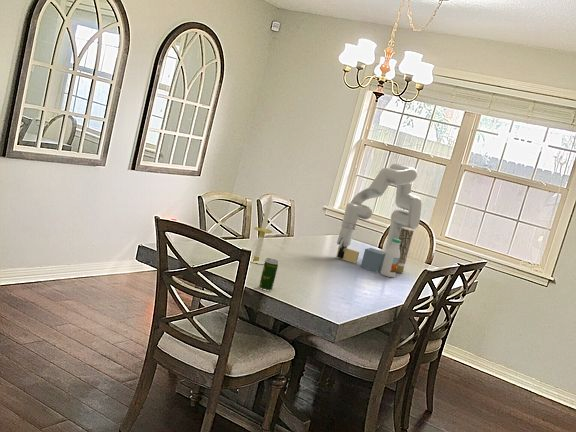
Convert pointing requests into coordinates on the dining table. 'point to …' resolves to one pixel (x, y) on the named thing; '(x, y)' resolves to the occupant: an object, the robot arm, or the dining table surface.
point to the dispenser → (373, 259)
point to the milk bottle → (391, 259)
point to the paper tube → (404, 247)
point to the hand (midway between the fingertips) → (340, 257)
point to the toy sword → (262, 230)
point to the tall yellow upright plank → (349, 255)
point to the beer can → (268, 274)
